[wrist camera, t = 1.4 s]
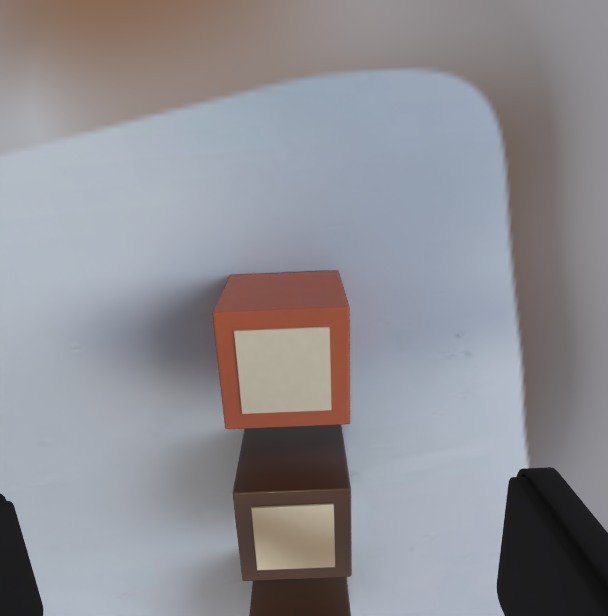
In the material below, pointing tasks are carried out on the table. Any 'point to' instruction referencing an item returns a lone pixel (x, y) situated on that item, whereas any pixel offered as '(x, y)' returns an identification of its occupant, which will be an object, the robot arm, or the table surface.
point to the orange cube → (283, 350)
